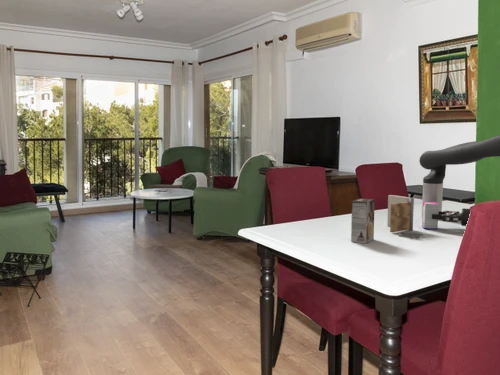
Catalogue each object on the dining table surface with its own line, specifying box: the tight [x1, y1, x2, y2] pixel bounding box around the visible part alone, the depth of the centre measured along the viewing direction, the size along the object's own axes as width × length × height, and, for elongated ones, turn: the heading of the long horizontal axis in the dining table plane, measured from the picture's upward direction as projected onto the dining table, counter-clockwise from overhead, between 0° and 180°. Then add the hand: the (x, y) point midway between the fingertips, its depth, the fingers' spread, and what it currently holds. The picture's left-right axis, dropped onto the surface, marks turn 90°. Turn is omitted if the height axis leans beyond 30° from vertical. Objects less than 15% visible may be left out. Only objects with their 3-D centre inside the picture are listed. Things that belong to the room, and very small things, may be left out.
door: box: [389, 202, 410, 233], centre depth 192 cm, size 11×2×12 cm, turn 123°
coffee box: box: [350, 198, 376, 245], centre depth 177 cm, size 9×6×16 cm
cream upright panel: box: [386, 194, 415, 231], centre depth 201 cm, size 2×13×14 cm, turn 33°
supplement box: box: [421, 202, 439, 230], centre depth 201 cm, size 6×6×12 cm
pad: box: [398, 231, 423, 239], centre depth 187 cm, size 8×8×1 cm
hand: (432, 214), depth 200 cm, fingers open, 8 cm apart
